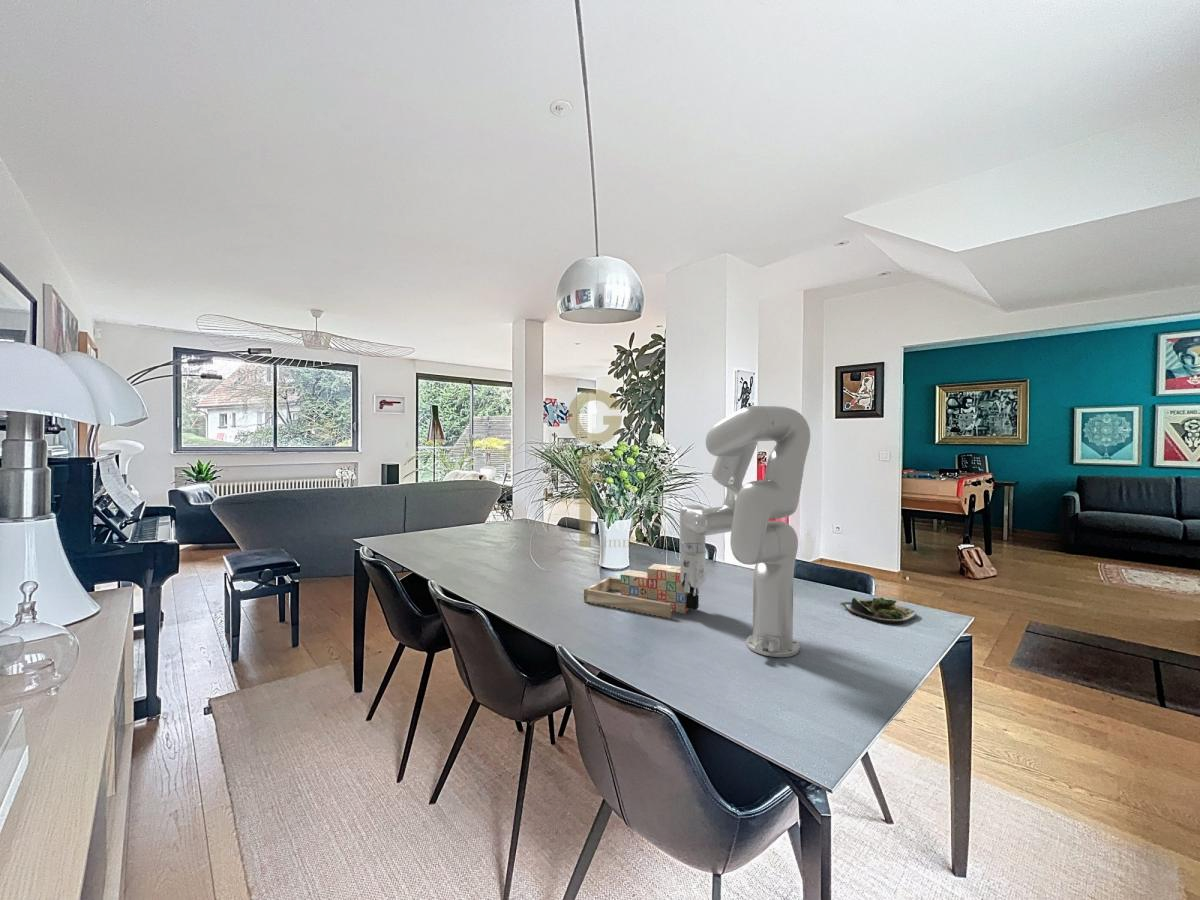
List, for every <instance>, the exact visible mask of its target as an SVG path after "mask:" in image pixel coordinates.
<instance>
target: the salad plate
mask: <svg viewBox="0 0 1200 900" xmlns="http://www.w3.org/2000/svg"><path fill="white" fill-rule="evenodd" d="M896 603H897V600H894V599H890V598H889V597H886V599H885V598H883V597H877V598H876V597H872V598H871V599H869V598H867V599H866V598H865V599H864V598H863V599H859V598H858V597H853V598H852V599H851V601H844V602H840V603H839V604H840V605H842V606H843V607H844V608H845V609H846V610H847V611H848V613H849V614H850V615H852V616H855V617H858V618H861V619H865V620H866V621H867V620H868V621H870V622H874V623H878V624H884V625H891V626H893V625H895V626H896V625H903V624H905V623H907V622H909V621H910V620H912V619H913V618H915V616H917V612H916V610H913V609H912V608H909V607H906V606H905V607H904V606H900V605H896Z"/></svg>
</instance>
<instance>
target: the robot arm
mask: <svg viewBox="0 0 1200 900" xmlns="http://www.w3.org/2000/svg"><path fill="white" fill-rule="evenodd" d="M810 429H811V428H810V427H809V423H808V422H807V420H806V418H805V417H804V416H803V415H802V414H801V413H800V412H799V411H797V410H795V409H793V408H789V407H787V406H777V405H774V406H773V405H749V406H744V407H743V408H740V409H738V410H737V411H734V412H733V413H731V414H730V415H729V416H727V417H725V418H723V419H721V420H720V421H717V423H715V424H714V425H712V427H711V428H710V429H709V430H708V432H707V434H706V436H705V447H706V449H707V451H708V453H709V454H710V455H712V456H714V457H716V461H715V464H714V465H713V469H712V471H711V477H712V479H713V480H714V481H716V483H718V484H719V485H720V486H722V487H725V488H726V494H725V499H724V501H723V504H722V506H715V507H708V508H705V507H704V506H701V505H698V504H687V505H682V506H681V507H680V509H679V552H680V553H681V557H680V558H681V559H680V567H681V569H680V582H681V586H682V587H684V592H686V595H687V604H686V606H687V608H689V610H697V609H699V606H700V605H699V604H700V603H699V601H700V600H699V599H700V598H699V594H700V593H699V592H700V586H702V585H704V584H705V582H706V581H707V567H706V566H707V565H706V563H707V562H706V554H705V553H706V536H712V535H713V536H714V535H716V534H724V533H725V534H726V533H730V549H731V553H732V555H733V557H734V558H735V559H736V560H737V561H738V562H739V563H741V564H744V565H747V566H748V565H750V566H751V565H752V566H753V565H755V567H754V570H753V575H752V576H753V579H752V634H750V635H749V636H747V637H746V640H745V641H746V642H745V643H746V647H747V648H748V649H749V650H751V651H752V652H754V653H757V654H760V655H763V656H767V657H773V658H789V657H794V656H796V655H797V654H799V652H800V645H799V642H797V640H795V639H794V580H795V579H794V573H795V564H796V559H797V554H798V550H799V549H798V547H799V537H798V535H797V532H796V531H795V528H794V527H793V526H791V525H790V524H788V523H787V522H785V521H782V520H776V519H784V518H788V517H791V516H792V515H793V514H795V513H796V511H797V510H798V506H799V501H800V496H801V491H802V490H801V489H802V483H803V477H804V472H805V471H804V470H805V464H806V460H807V456H808V452H809V448H810V443H811V430H810ZM770 441H771V442H772V441H774V442H775V443H776V444H775V445H774V448H772V450H771V452H770V453H769V456H768V458H767V462H766V469H765V474H764V478H763V479H760V480H752V481H749V482H746V483H745V484H744V485H743V481H744V479H745V477H746V475H747V471H748V469H749V466H750V463H751V461H752V459H753V455H754V454H755V451H756V449H757V446H758V442H770ZM684 580H685V583H684Z"/></svg>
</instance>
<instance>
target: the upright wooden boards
mask: <svg viewBox="0 0 1200 900" xmlns="http://www.w3.org/2000/svg"><path fill="white" fill-rule="evenodd" d="M610 589H612V590H610ZM608 590H609V591H615V590H617V591H616V592H621V577H619V578H617V577H612V576H608V577H606V578H604V579H602V580H600V581H598V582H596V583H594V584H592V585H590V586H588V587H586V588H584V589H583V602H584V601H585V602H584V603H587V602H590V603H589V604H592V603H596V604H595V605H597V604H601V605H600V606H602V605H607V606H612V607H611V608H613V607H616V608H615V609H618V608H621V609H620V610H623V609H627V610H626V611H628V610H631V611H630V612H633V611H636V612H635V613H639V612H641V613H640V614H644V613H646V614H645V615H649V614H651V616H654V615H656V616H655V617H659V616H662V617H661V618H665V617H667V618H666V619H670V617H671V618H672V611H671V603H665V602H659V601H654V600H648V599H642V598H637V597H631V596H625V595H621V593H620V594H619V593H614V592H609V591H608ZM606 591H607V592H606ZM607 606H606V607H607Z"/></svg>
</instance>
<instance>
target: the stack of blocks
mask: <svg viewBox="0 0 1200 900" xmlns="http://www.w3.org/2000/svg"><path fill="white" fill-rule="evenodd" d="M680 569H681V566H680V565H679V566H678V565H677V566H676V565H669V564H668V565H667V564H661V563H660V564H658V563H653V564H652V565H650V566H649V567H647V572H646V571H642V570H641V571H640V570H633V569H632V570H631V569H627V570H625V571H624V572H622V573H621V574H620V579H621V591H620V595H625V596H631V597H637V598H642V599H648V600H654V601H659V602H665V603H671V610H672V611H671V612H673V611H677V612H676V613H678V612H682V613H681V614H686V613H687V612H689V610H690V609H689V608H687V606H686V604H687V595H686V592H684V587H682V586H681V582H680ZM684 583H685V580H684ZM688 609H689V610H688Z"/></svg>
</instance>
